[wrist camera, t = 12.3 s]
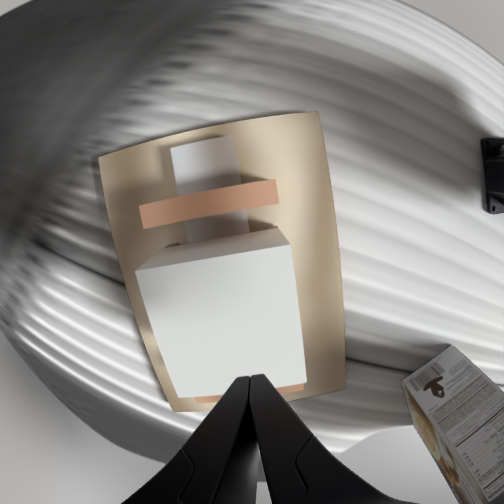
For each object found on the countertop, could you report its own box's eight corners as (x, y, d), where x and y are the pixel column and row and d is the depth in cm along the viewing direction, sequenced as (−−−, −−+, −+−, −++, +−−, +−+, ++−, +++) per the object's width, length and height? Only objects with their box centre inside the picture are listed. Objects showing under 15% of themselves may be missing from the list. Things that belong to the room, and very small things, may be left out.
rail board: (314, 114, 16) (332, 96, 12) (341, 381, 21) (356, 415, 17) (105, 158, 17) (71, 154, 13) (175, 404, 21) (165, 439, 17)
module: (276, 225, 17) (290, 244, 11) (291, 330, 18) (307, 382, 13) (167, 244, 17) (134, 271, 12) (194, 345, 18) (178, 397, 13)
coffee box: (458, 394, 22) (529, 484, 7) (412, 426, 23) (470, 531, 7) (452, 341, 21) (558, 445, 5) (397, 379, 21) (483, 515, 6)
